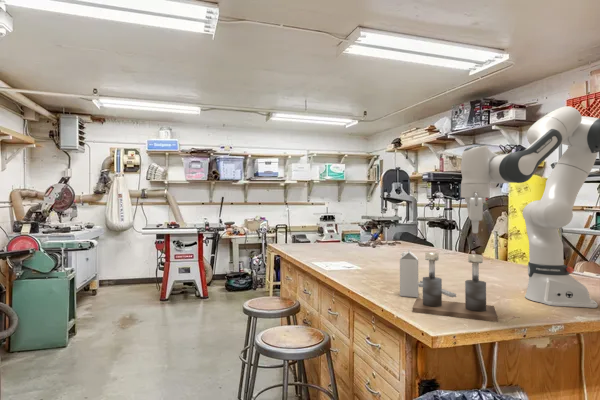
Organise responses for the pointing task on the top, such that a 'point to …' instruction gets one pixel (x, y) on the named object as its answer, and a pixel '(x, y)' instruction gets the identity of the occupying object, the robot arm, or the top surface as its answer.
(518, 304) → the top surface
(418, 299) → the press block
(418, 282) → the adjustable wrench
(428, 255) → the plunger
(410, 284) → the milk carton
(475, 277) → the plunger
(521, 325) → the top surface
